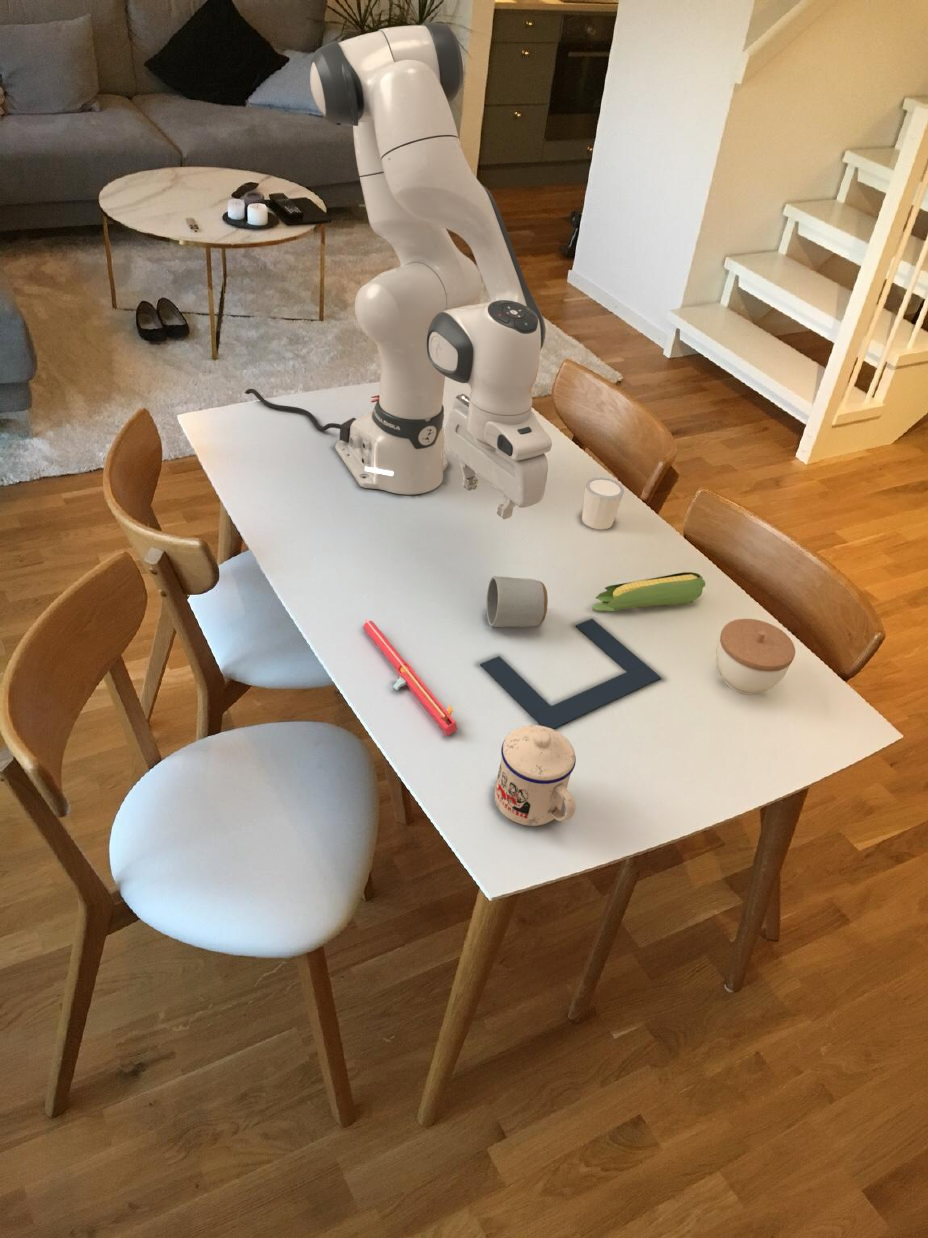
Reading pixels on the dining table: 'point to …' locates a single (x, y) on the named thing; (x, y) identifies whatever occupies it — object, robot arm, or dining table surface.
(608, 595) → the edible corn
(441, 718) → the red striped bar
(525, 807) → the teacup with lid
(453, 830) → the dining table surface
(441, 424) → the robot arm
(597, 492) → the white faceted cylinder
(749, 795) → the dining table surface
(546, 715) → the dark grey flat piece
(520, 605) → the ceramic mug
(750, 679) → the trinket box
